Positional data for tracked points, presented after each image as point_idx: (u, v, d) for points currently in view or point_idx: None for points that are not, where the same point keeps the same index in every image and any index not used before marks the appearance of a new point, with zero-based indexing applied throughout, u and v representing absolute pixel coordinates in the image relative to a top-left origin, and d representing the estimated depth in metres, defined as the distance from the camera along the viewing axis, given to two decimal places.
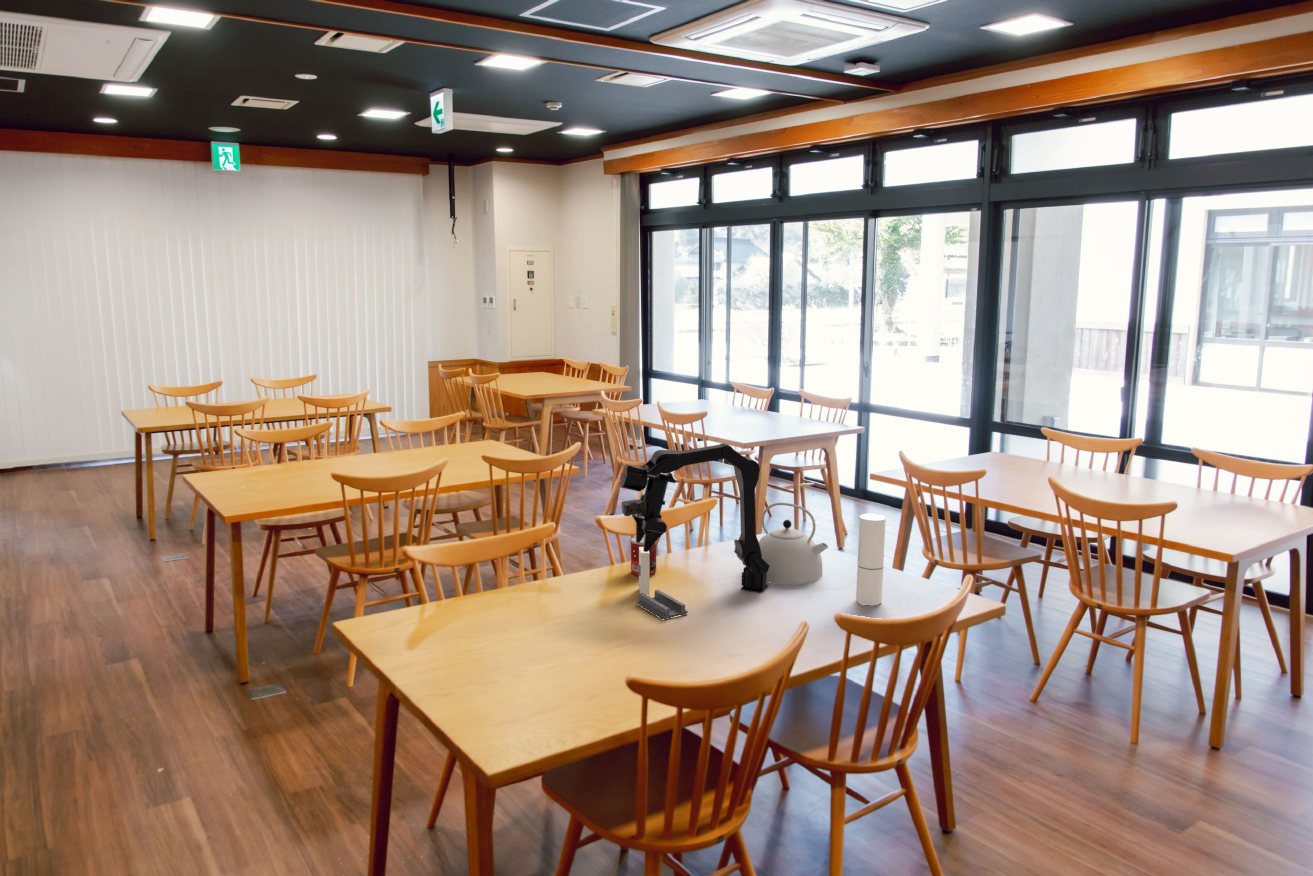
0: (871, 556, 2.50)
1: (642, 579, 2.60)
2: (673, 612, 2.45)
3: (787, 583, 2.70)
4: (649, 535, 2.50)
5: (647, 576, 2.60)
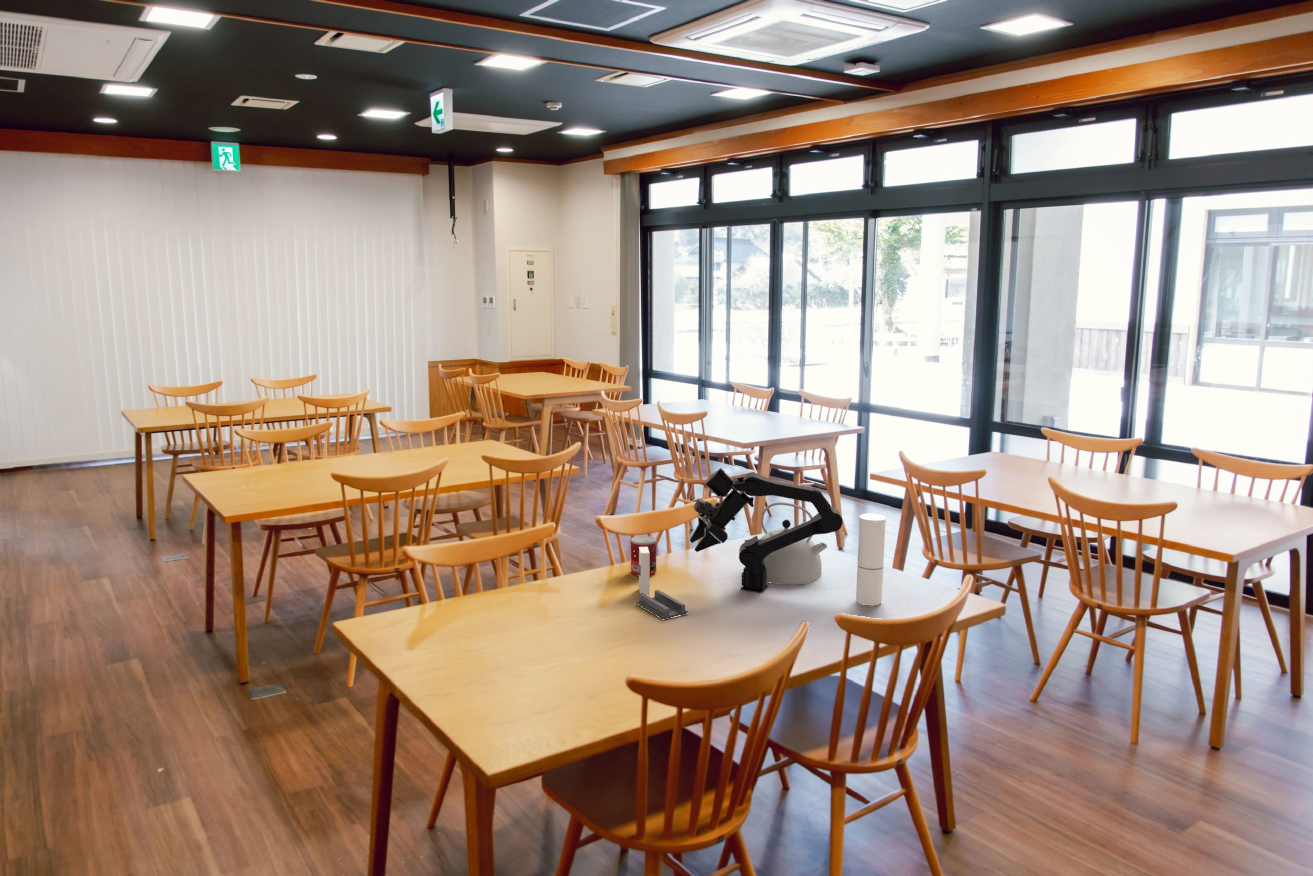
0: (871, 556, 2.50)
1: (642, 579, 2.60)
2: (673, 612, 2.45)
3: (786, 583, 2.70)
4: (707, 538, 2.58)
5: (647, 576, 2.60)
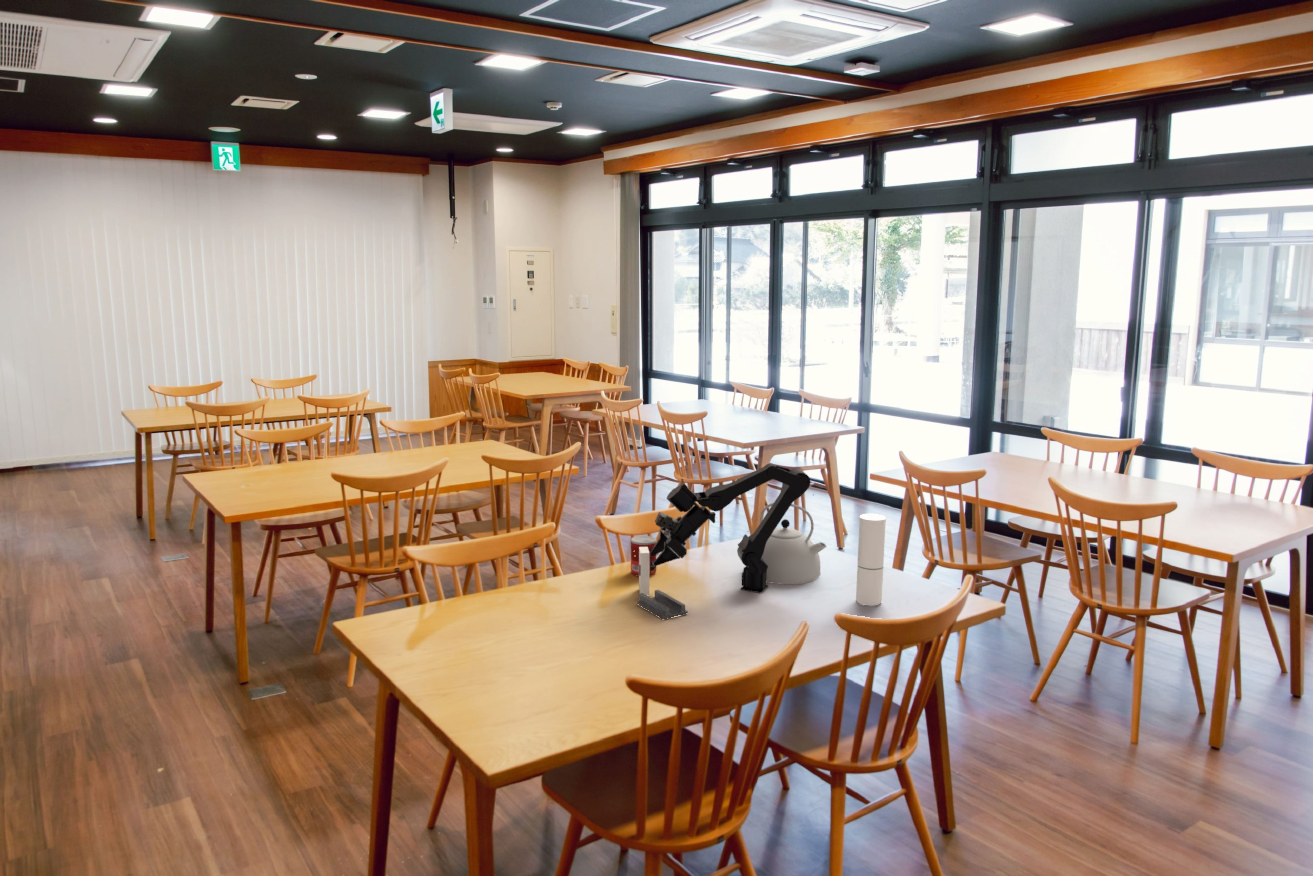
0: (871, 556, 2.50)
1: (642, 579, 2.60)
2: (673, 612, 2.45)
3: (785, 582, 2.71)
4: (666, 553, 2.56)
5: (647, 576, 2.60)
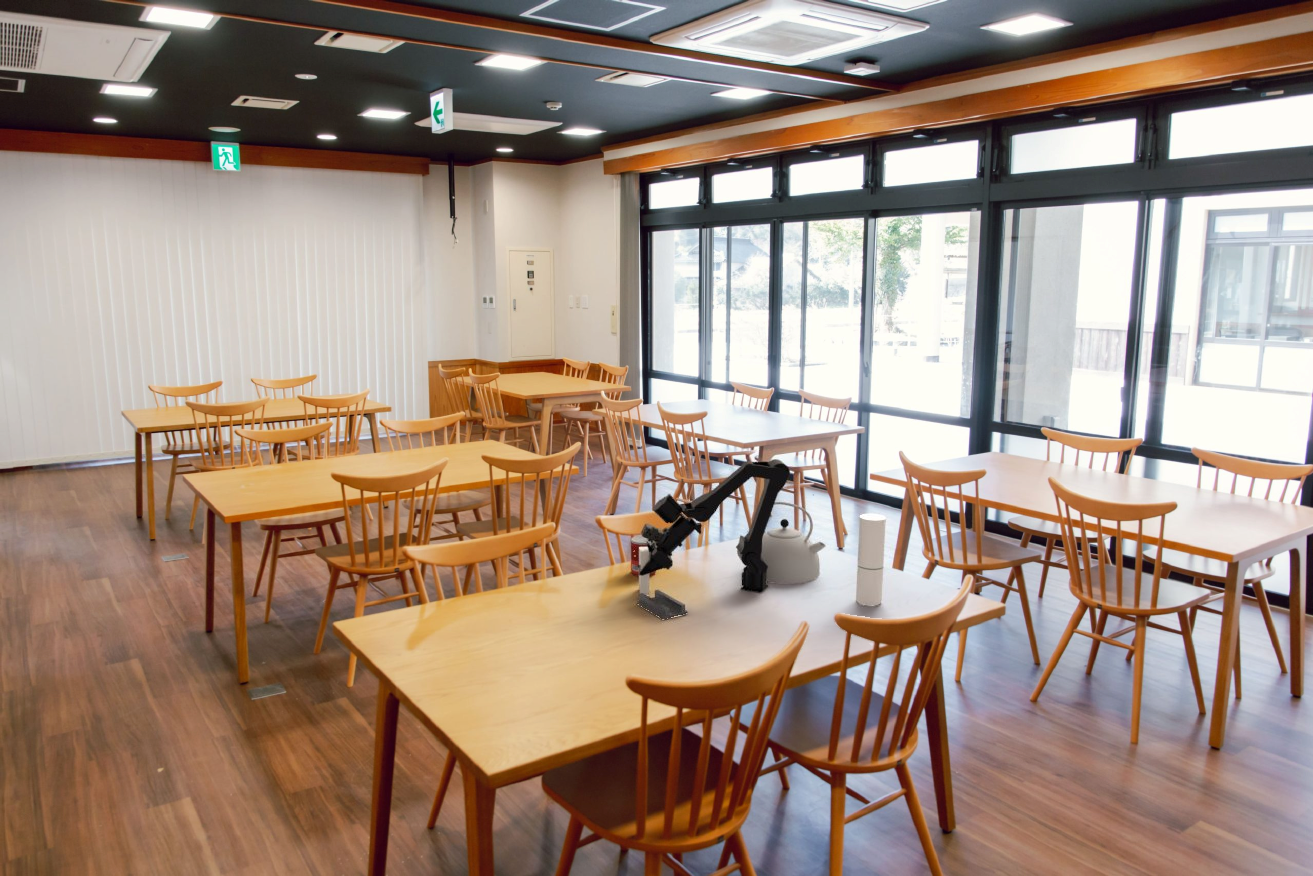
0: (871, 556, 2.50)
1: (642, 579, 2.60)
2: (673, 612, 2.45)
3: (784, 582, 2.71)
4: (652, 563, 2.58)
5: (647, 576, 2.60)
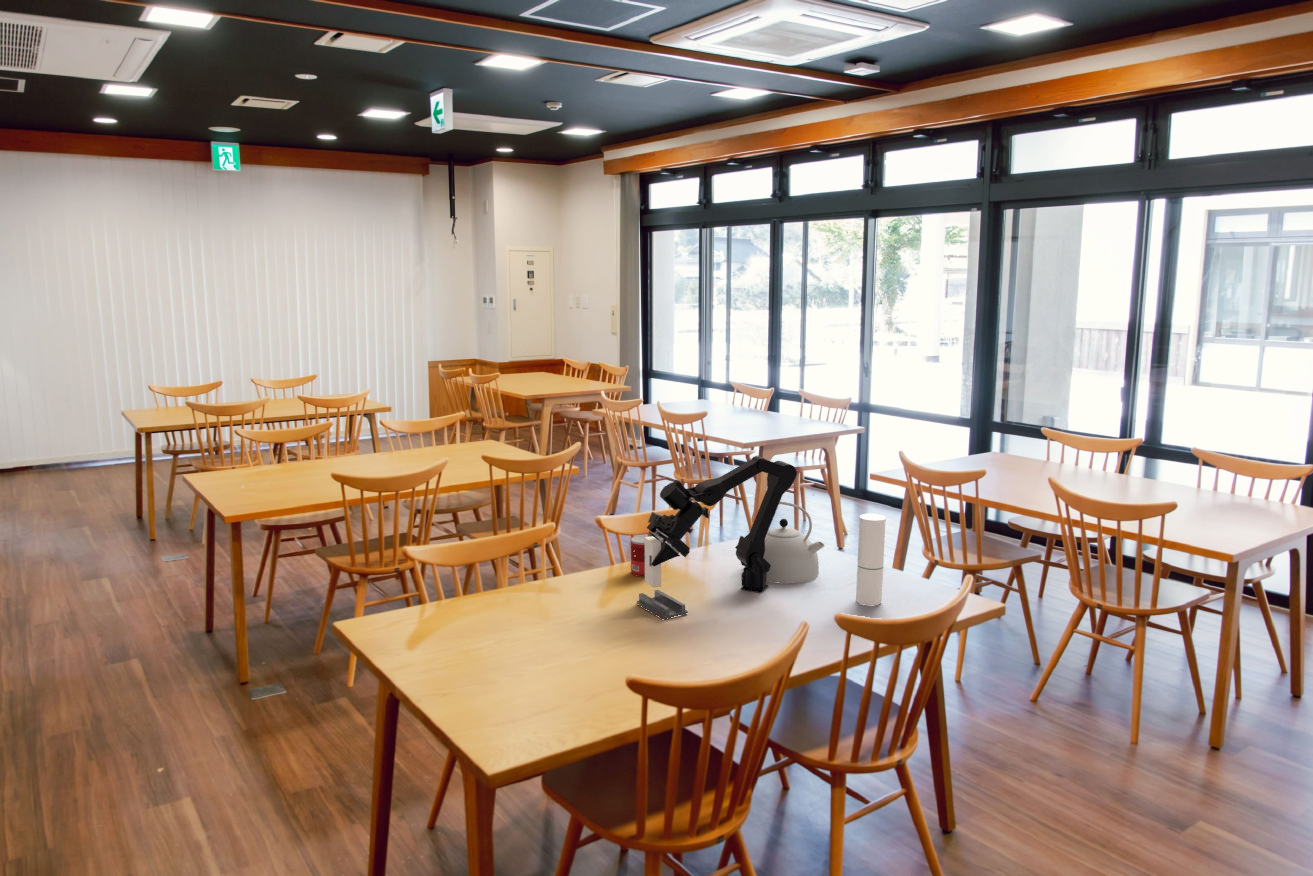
0: (871, 556, 2.50)
1: (654, 570, 2.50)
2: (673, 612, 2.45)
3: (784, 582, 2.71)
4: (665, 552, 2.48)
5: (659, 566, 2.50)
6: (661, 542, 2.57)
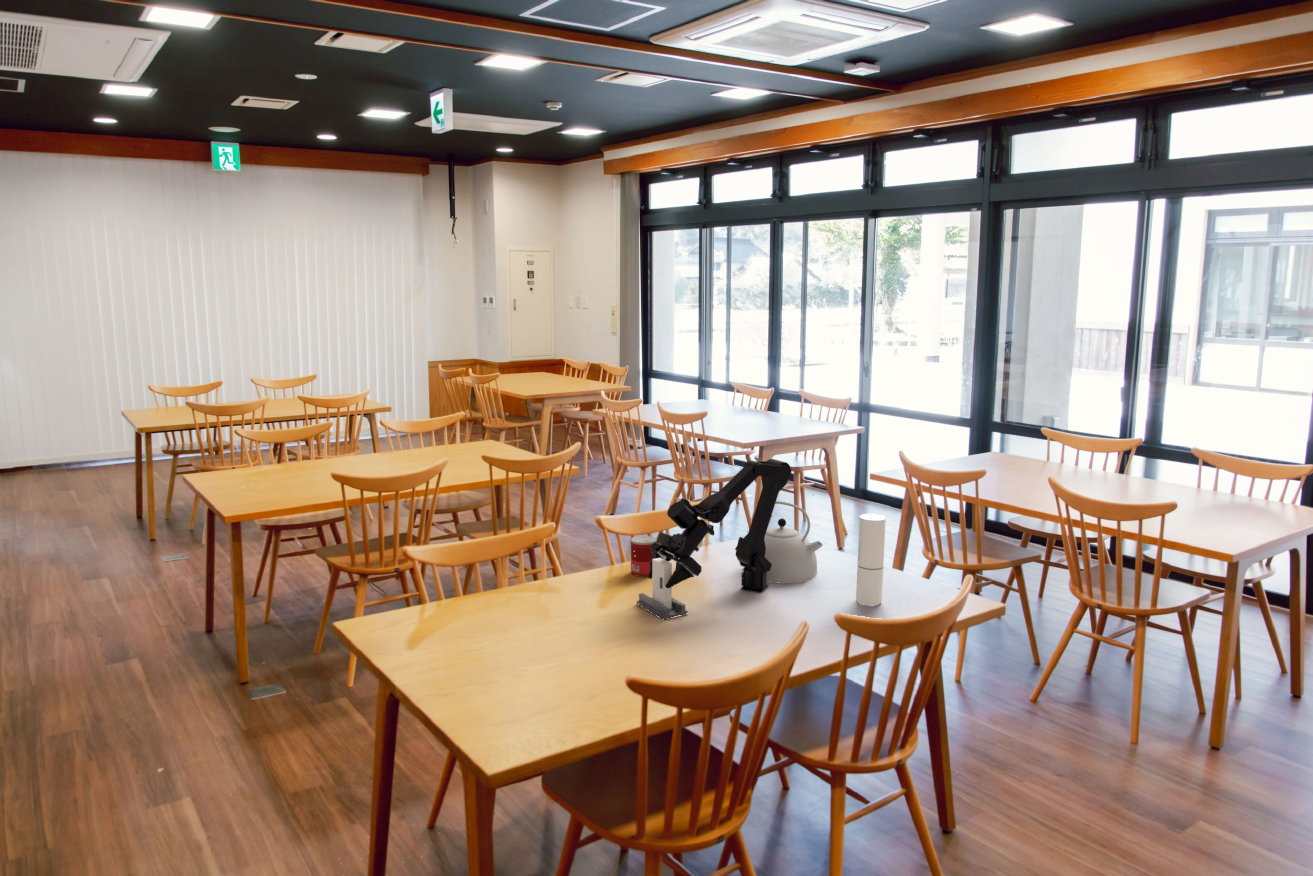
0: (871, 556, 2.50)
1: (665, 592, 2.46)
2: (673, 612, 2.45)
3: (782, 581, 2.72)
4: (679, 573, 2.44)
5: (669, 588, 2.47)
6: None
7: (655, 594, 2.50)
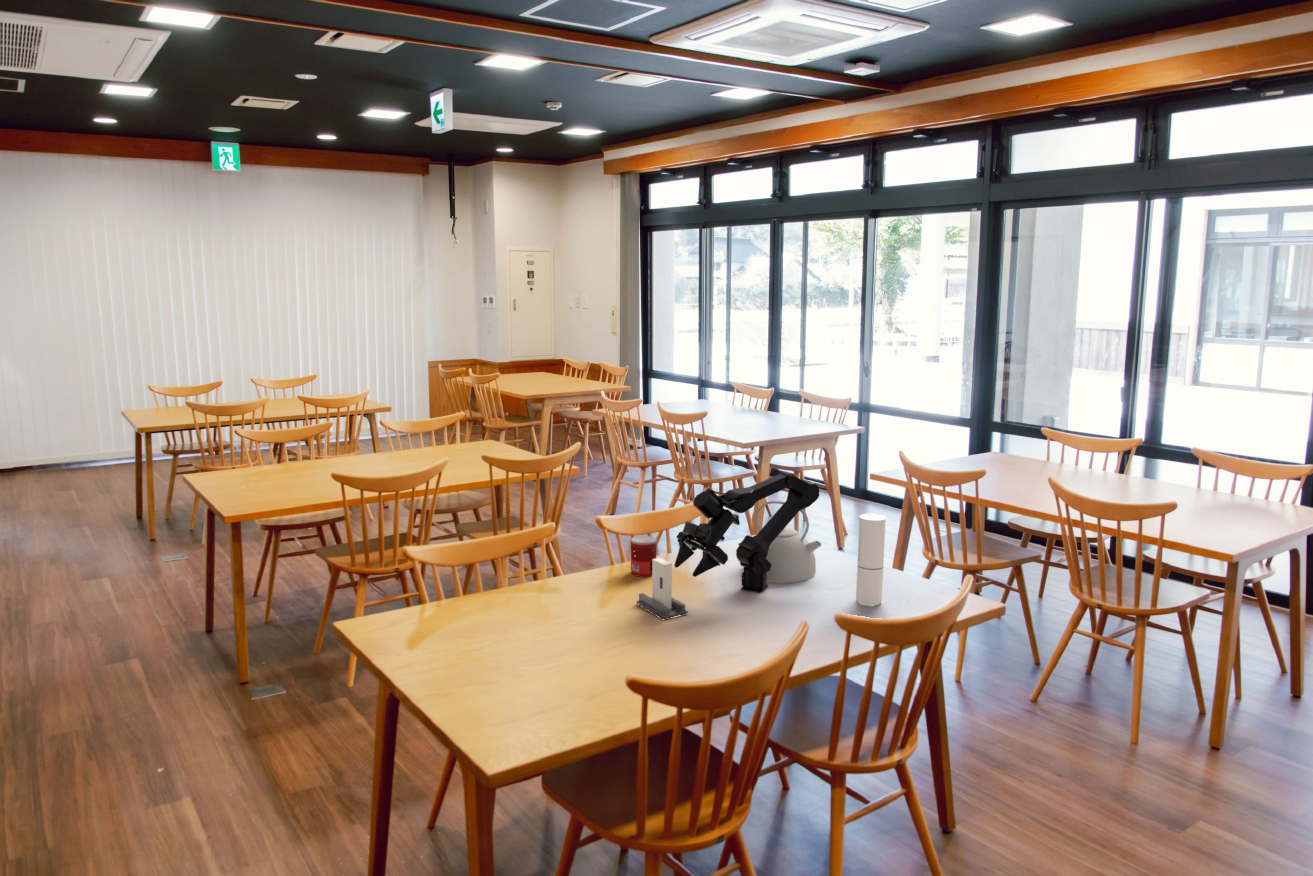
0: (871, 556, 2.50)
1: (665, 592, 2.46)
2: (673, 612, 2.45)
3: (781, 581, 2.72)
4: (705, 562, 2.49)
5: (669, 588, 2.47)
6: (690, 549, 2.59)
7: (655, 594, 2.50)
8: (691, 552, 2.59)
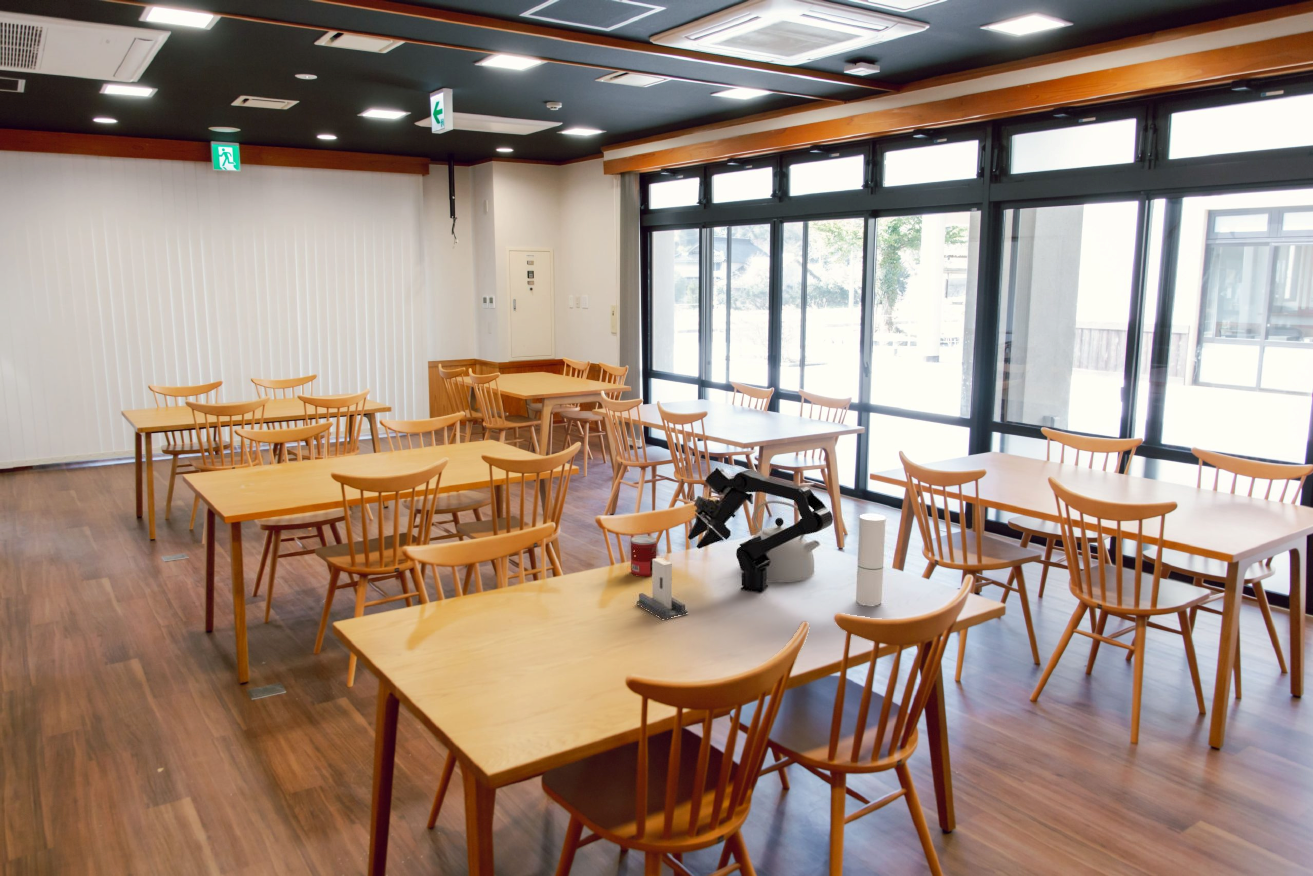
0: (871, 556, 2.50)
1: (665, 592, 2.46)
2: (673, 612, 2.45)
3: (780, 580, 2.73)
4: (709, 535, 2.60)
5: (669, 588, 2.47)
6: (706, 524, 2.71)
7: (655, 594, 2.50)
8: (707, 527, 2.71)
